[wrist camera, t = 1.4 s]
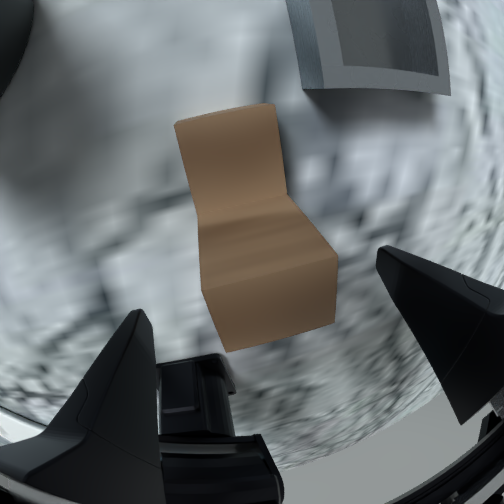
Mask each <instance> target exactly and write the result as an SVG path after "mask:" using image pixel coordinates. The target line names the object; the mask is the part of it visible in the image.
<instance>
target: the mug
mask: <svg viewBox="0 0 504 504" xmlns="http://www.w3.org/2000/svg"><path fill="white" fill-rule="evenodd" d="M33 10H34V7H33V0H0V96H1V95H2V93H3V92H4V90H5V88H6V87H7V85H8V83H9V82H10V80H11V78H12V76H13V74H14V72H15V70H16V68H17V66H18V64H19V61H20V59H21V57H22V54H23V52H24V49H25V46H26V44H27V41H28V37H29V34H30V30H31V25H32V20H33Z"/></svg>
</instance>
